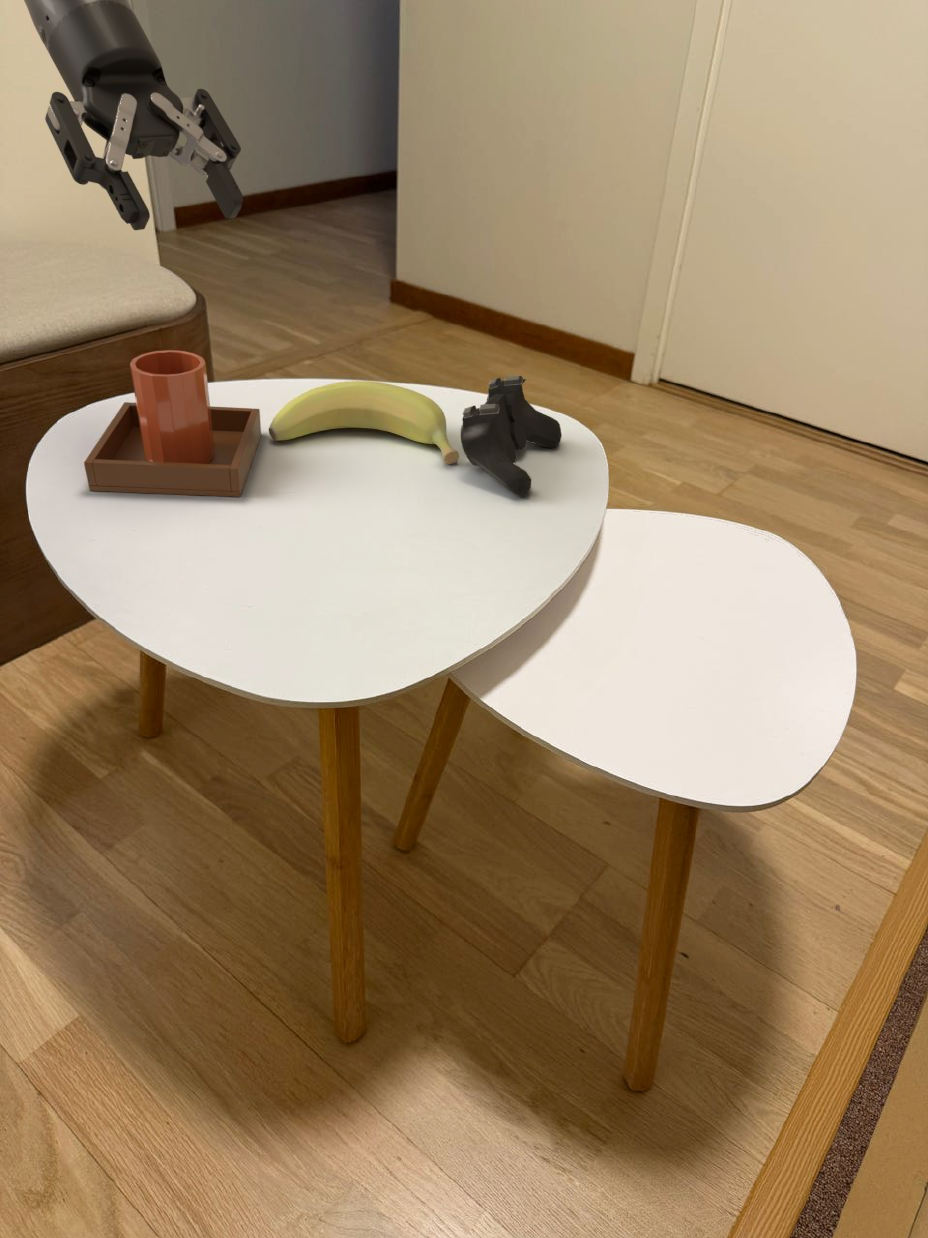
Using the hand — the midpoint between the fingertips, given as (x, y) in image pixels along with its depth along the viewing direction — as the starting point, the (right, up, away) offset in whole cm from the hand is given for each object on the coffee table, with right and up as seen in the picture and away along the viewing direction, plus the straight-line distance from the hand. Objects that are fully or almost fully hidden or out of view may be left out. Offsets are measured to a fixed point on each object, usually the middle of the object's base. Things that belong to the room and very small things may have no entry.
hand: (191, 217), depth 72 cm
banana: (+12, -13, +29) cm, 33 cm away
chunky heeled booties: (+27, -15, +27) cm, 41 cm away
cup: (-8, -15, +22) cm, 28 cm away
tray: (-8, -16, +22) cm, 28 cm away
